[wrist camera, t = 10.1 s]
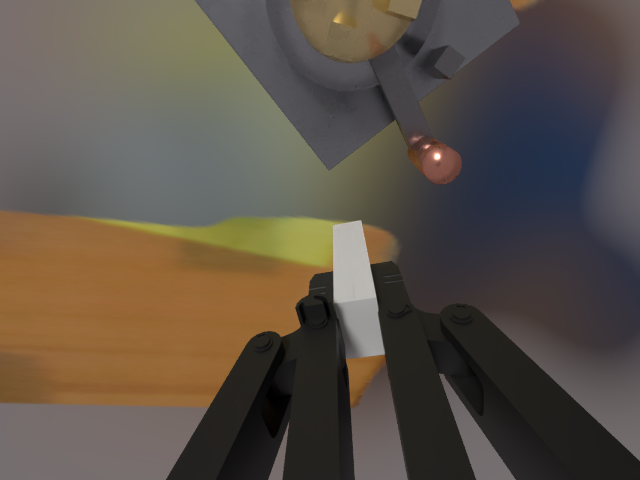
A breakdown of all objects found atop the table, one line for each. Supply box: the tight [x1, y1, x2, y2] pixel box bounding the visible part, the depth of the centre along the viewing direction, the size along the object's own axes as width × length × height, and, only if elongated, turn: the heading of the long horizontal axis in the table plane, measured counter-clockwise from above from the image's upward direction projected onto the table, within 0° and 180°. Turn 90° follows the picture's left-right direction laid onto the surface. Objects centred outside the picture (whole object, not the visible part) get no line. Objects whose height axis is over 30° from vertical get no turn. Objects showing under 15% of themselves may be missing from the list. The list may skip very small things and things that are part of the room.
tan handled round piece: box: [290, 0, 462, 184], centre depth 28 cm, size 23×11×7 cm, turn 31°
